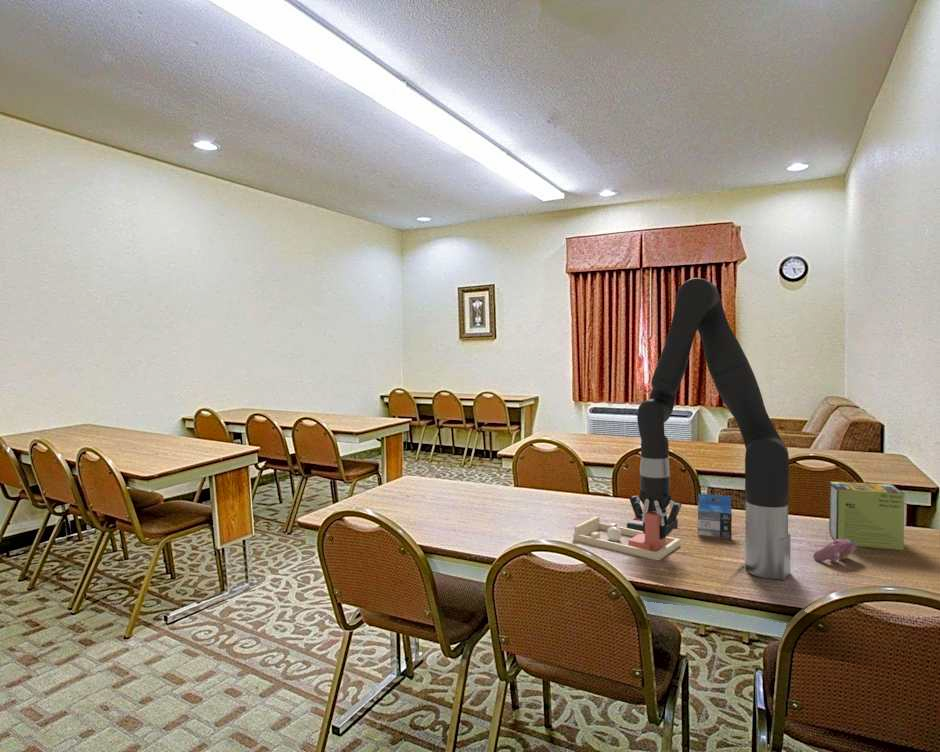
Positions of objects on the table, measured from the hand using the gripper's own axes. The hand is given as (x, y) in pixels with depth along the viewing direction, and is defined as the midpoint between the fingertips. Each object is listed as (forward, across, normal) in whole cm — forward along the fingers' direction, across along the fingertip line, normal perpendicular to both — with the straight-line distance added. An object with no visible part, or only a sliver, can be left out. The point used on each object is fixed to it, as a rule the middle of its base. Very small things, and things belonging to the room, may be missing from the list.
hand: (655, 536), depth 153 cm
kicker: (+3, +2, 0) cm, 4 cm away
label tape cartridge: (+5, -8, -22) cm, 24 cm away
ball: (+2, +12, 0) cm, 12 cm away
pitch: (+5, +8, 0) cm, 10 cm away
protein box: (+5, -41, -45) cm, 61 cm away
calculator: (+5, +9, -18) cm, 21 cm away
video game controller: (+5, -37, -24) cm, 45 cm away
